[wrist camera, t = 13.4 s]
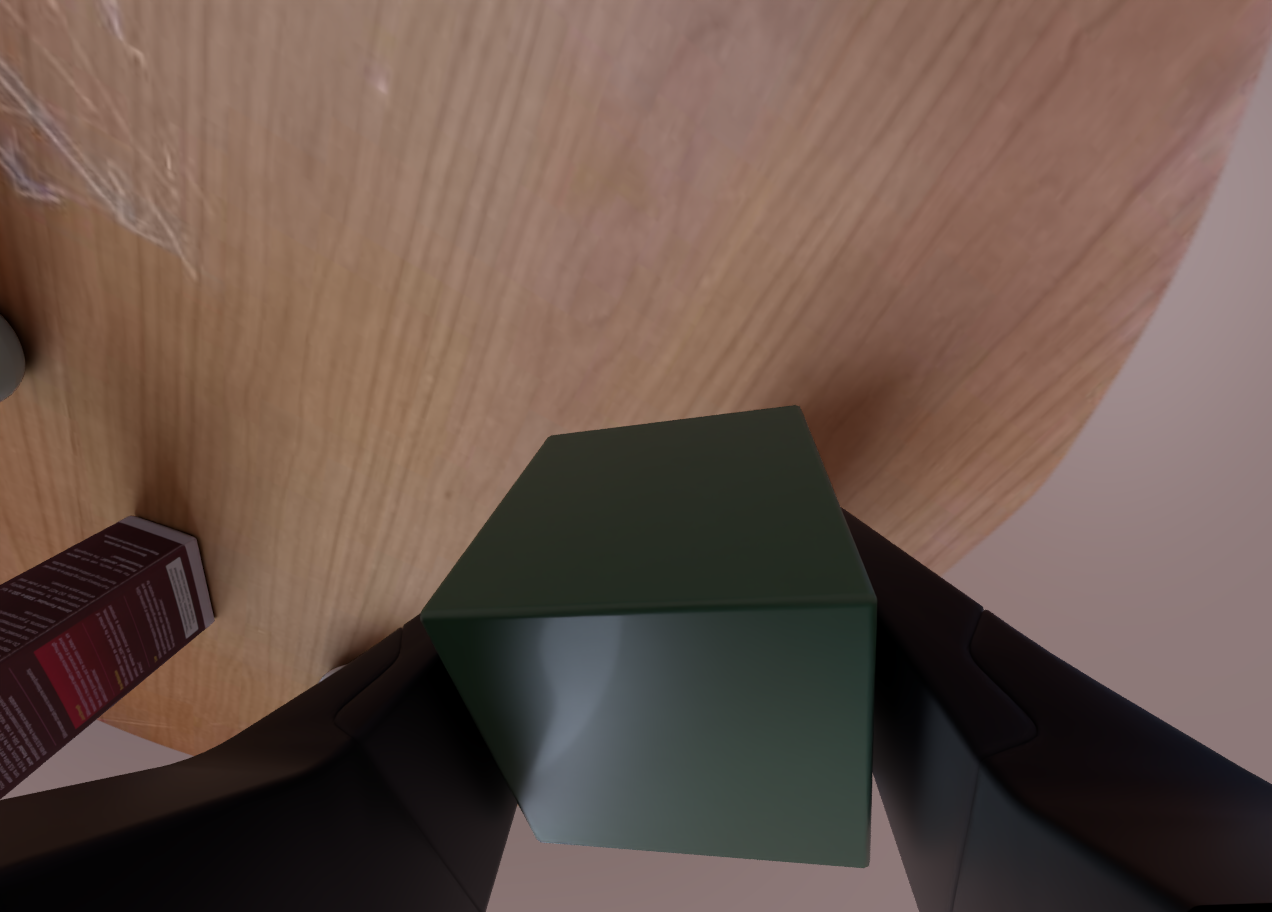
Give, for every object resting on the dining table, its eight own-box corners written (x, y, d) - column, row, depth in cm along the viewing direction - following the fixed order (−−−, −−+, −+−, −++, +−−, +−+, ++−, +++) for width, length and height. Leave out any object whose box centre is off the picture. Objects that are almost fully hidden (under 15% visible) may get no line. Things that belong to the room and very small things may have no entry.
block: (547, 433, 9) (412, 615, 5) (800, 402, 8) (880, 599, 4) (602, 613, 11) (536, 845, 7) (811, 605, 10) (872, 872, 6)
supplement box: (128, 510, 31) (-358, 764, 17) (200, 535, 31) (-225, 807, 17) (155, 602, 35) (-216, 865, 21) (218, 623, 35) (-111, 900, 21)
